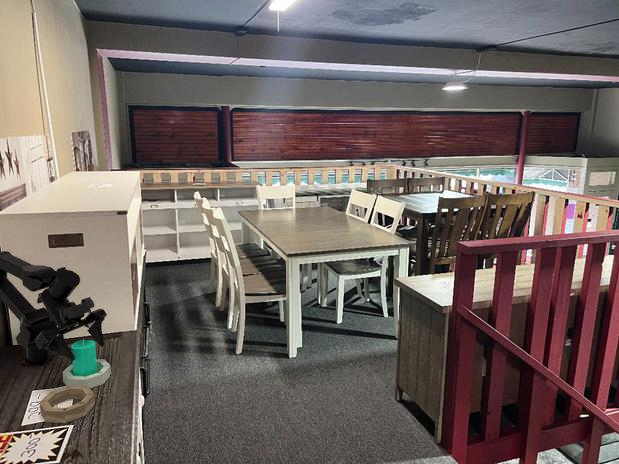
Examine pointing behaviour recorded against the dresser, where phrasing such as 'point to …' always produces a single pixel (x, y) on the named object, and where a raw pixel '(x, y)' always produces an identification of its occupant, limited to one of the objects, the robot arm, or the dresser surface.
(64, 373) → the socket
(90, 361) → the candle
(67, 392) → the socket
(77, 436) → the dresser surface
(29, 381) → the dresser surface
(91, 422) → the dresser surface
